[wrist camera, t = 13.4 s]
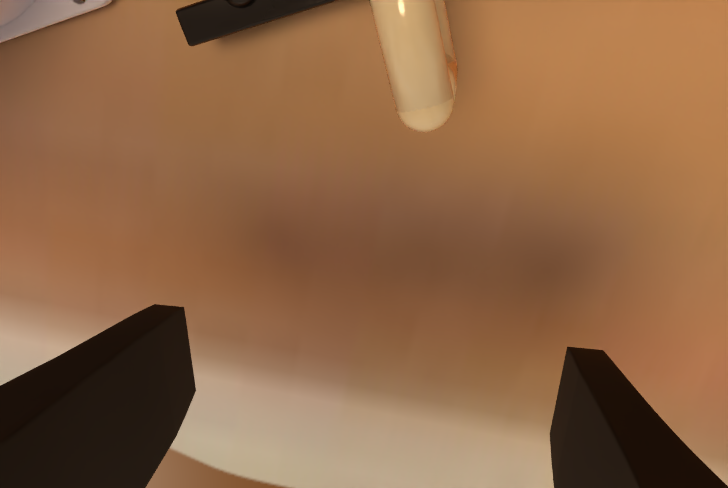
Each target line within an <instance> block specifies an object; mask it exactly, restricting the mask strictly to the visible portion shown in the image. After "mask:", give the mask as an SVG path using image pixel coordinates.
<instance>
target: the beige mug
mask: <svg viewBox="0 0 728 488" xmlns="http://www.w3.org/2000/svg"><path fill="white" fill-rule="evenodd" d="M369 1H370V5H371V9H372V13H373V17H374V22H375V26H376V30H377V34H378V38H379V42H380V46H381V50H382V55H383V59H384V63H385V67H386V71H387V75H388V79H389V83H390V88H391V92H392V96H393V100H394V104H395V108H396V112H397V115H398V117H399V118H400V120H401V121H402V122H403V124H404V125H405V126H407V127H408V128H410V129H412V130H414V131H418V132H431V131H434V130H436V129H438V128H440V127H441V126H443V125H444V124H445V123H446V122H447V121H448V119H449V118H450V116H451V114H452V111H453V108H454V100H455V91H456V82H457V73H458V69H457V63H456V58H455V52H454V47H453V42H452V37H451V32H450V27H449V22H448V17H447V11H446V6H445V1H444V0H369Z"/></svg>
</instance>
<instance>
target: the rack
mask: <svg viewBox="0 0 728 488" xmlns="http://www.w3.org/2000/svg"><path fill="white" fill-rule="evenodd" d="M334 1H337V0H203V1H200V2H197V3H194V4H191V5H188V6H185V7H182V8H179V9H177V10H176V14H177V17H178V20H179V22H180V25H181V27H182V30H183V32H184V35H185V37H186V40H187V42H188V44H189V46H195V45H198V44H201V43H205V42H208V41H211V40H214V39H217V38H220V37H223V36H227V35H230V34H233V33H236V32H239V31H242V30H246V29H249V28H252V27H255V26H258V25H261V24H265V23H268V22H271V21H274V20H277V19H280V18H283V17H287V16H290V15H293V14H296V13H299V12H302V11H306V10H309V9H312V8H315V7H318V6H321V5H324V4H328V3H331V2H334Z"/></svg>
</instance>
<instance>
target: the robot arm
mask: <svg viewBox="0 0 728 488" xmlns="http://www.w3.org/2000/svg"><path fill="white" fill-rule="evenodd" d="M111 1H112V0H86V1H85V2H83V1H82V0H0V43H2V42H5V41H7V40H10V39H13V38H16V37H19V36H22V35H24V34H27V33H30V32H33V31H36V30H39V29H41V28H44V27H47V26H50V25H53V24H56V23H58V22H61V21H64V20H67V19H70V18H73V17H75V16H78V15H81V14H84V13H87V12H90V11H92V10H95V9H98V8H101V7H104V6H106V5H108V4H109V3H111ZM195 391H196V388H195V381H194V374H193V367H192V360H191V353H190V346H189V339H188V332H187V325H186V318H185V311H184V307H176V306H166V305H157V304H154V305H152V306H150V307H148V308H146V309H144V310H142V311H140V312H138V313H136V314H134V315H132V316H130V317H128V318H126V319H124V320H123V321H121V322H119V323H117V324H115V325H114V326H112V327H110V328H108V329H106V330H105V331H103V332H101V333H99V334H98V335H96V336H94V337H92V338H90V339H89V340H87V341H85V342H83V343H81V344H79V345H78V346H76V347H74V348H72V349H70V350H69V351H67V352H65V353H63V354H61V355H60V356H58V357H56V358H54V359H52V360H50V361H48V362H46V363H44V364H42V365H40V366H38V367H36V368H34V369H32V370H30V371H28V372H26V373H24V374H22V375H20V376H19V377H17V378H15V379H13V380H11V381H9V382H7V383H5V384H3V385H1V386H0V488H145V487H146V486H147V484H148V482H149V481H150V479H151V478H152V476H153V474H154V473H155V471H156V469H157V468H158V466H159V464H160V463H161V461H162V459H163V457H164V456H165V454H166V452H167V451H168V449H169V448H170V446H171V444H172V442H173V441H174V439H175V437H176V435H177V433H178V431H179V429H180V427H181V424H182V422H183V420H184V418H185V416H186V413H187V411H188V408H189V406H190V403H191V401H192V399H193V396H194V394H195ZM550 444H551V458H552V470H553V481H554V488H728V486H727V485H726V484H725V483H724V482H723V481H722V480H721V479H720V478H719V477H718V476H716V475H715V474H714V473H713V472H712V471H711V470H710V469H709V468H708V467H707V466H706V465H705V464H704V463H703V462H702V461H701V460H700V459H699V458H698V457H697V456H696V455H695V454H694V453H693V452H692V451H691V450H690V449H689V448H688V447H687V446H686V444H685V443H684V442H683V441H682V440H681V439H680V438H679V437H678V436H677V435H676V434H675V433H674V432H673V431H672V430H671V429H670V427H669V426H668V425H667V424H666V423H665V422H664V421H663V420H662V419H661V418H660V416H659V415H658V414H657V413H656V412H655V411H654V410H653V409H652V407H651V406H650V405H649V404H648V403H647V402H646V400H645V399H644V398H643V397H642V396H641V395H640V393H639V392H638V391H637V390H636V389H635V388H634V386H633V385H632V384H631V383H630V382H629V380H628V379H627V378H626V377H625V376H624V374H623V373H622V372H621V371H620V370H619V369H618V367H617V366H616V365H615V364H614V363H613V361H612V360H611V359H610V358H609V357H608V355H607V354H606V353H605V352H604V351H603V350H595V349H585V348H575V347H567V351H566V356H565V361H564V366H563V371H562V376H561V381H560V386H559V391H558V396H557V401H556V406H555V411H554V416H553V420H552V425H551V430H550Z"/></svg>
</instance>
